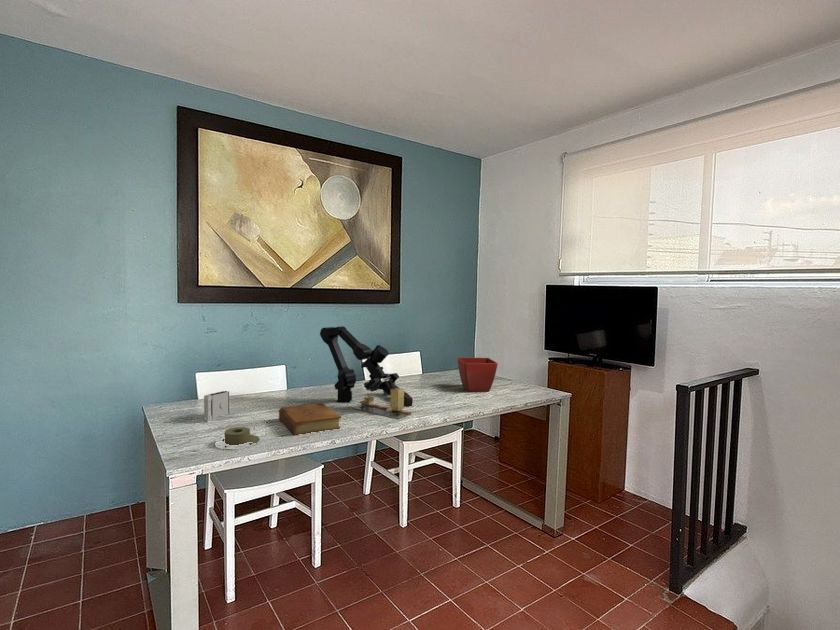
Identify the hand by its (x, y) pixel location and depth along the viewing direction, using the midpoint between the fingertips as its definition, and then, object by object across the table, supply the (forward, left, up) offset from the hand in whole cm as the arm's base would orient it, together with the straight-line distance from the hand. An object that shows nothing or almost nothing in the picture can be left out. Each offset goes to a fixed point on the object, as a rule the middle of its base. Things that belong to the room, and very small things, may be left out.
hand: (392, 395), depth 204 cm
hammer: (+1, +21, -8) cm, 23 cm away
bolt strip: (-6, -2, -7) cm, 9 cm away
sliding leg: (+1, -3, -6) cm, 7 cm away
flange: (-53, -45, -8) cm, 70 cm away
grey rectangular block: (-74, -16, -7) cm, 76 cm away
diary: (-33, -22, -8) cm, 40 cm away
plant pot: (+45, +50, -7) cm, 68 cm away
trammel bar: (-4, 0, -7) cm, 8 cm away
